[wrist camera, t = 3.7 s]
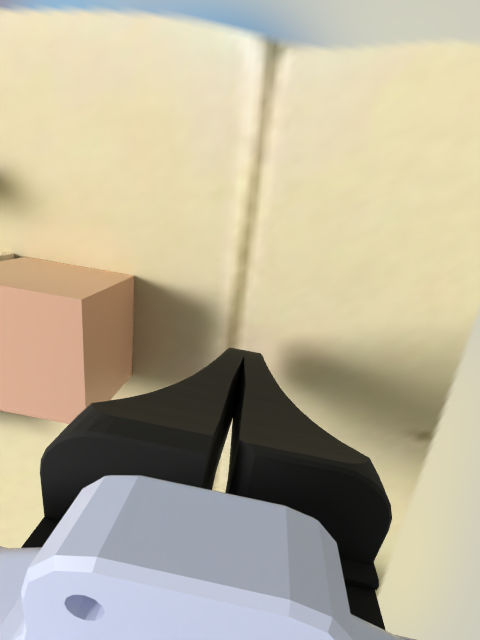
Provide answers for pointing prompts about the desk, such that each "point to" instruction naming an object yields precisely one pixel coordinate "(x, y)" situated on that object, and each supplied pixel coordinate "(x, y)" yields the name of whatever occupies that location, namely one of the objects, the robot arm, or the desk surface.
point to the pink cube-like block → (62, 337)
